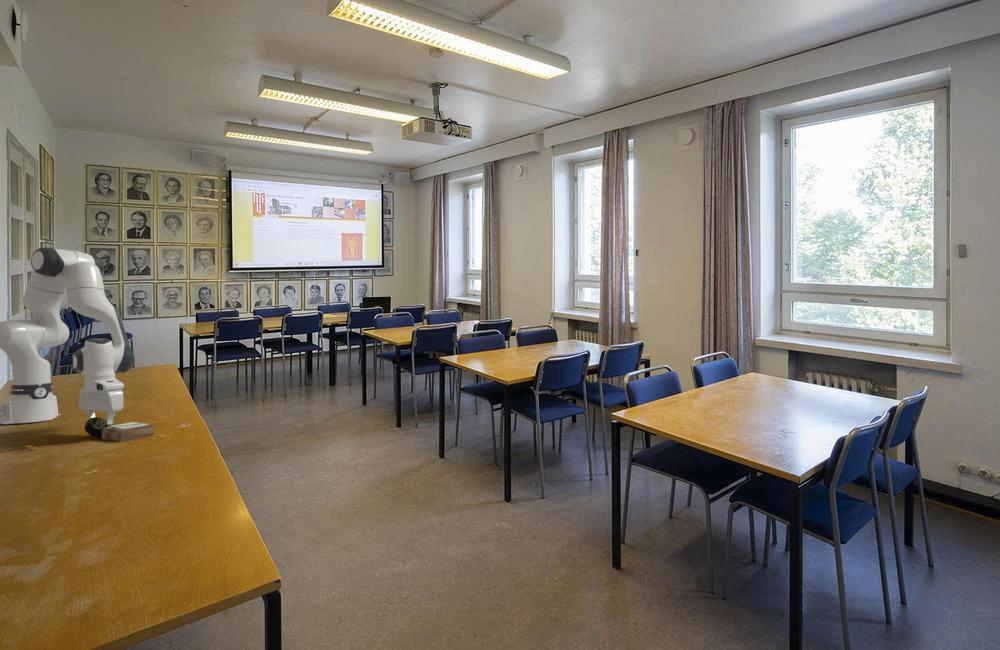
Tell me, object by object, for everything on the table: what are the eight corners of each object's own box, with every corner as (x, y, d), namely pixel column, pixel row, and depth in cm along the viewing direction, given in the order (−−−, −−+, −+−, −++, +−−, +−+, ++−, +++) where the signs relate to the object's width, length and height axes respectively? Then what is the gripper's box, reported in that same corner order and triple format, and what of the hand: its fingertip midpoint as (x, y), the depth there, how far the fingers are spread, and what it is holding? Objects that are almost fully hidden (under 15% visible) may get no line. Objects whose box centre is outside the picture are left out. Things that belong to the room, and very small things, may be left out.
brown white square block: (101, 438, 184) (101, 426, 184) (135, 432, 194) (134, 421, 194) (120, 441, 179) (120, 429, 179) (153, 435, 189) (153, 423, 189)
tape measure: (98, 441, 186) (104, 434, 185) (78, 431, 183) (84, 424, 182) (107, 429, 192) (113, 423, 191) (88, 419, 189) (94, 412, 188)
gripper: (72, 384, 189) (73, 423, 189) (107, 386, 180) (108, 426, 180) (92, 382, 195) (93, 420, 195) (126, 384, 186) (127, 423, 186)
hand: (100, 423), depth 188 cm, fingers open, 8 cm apart
